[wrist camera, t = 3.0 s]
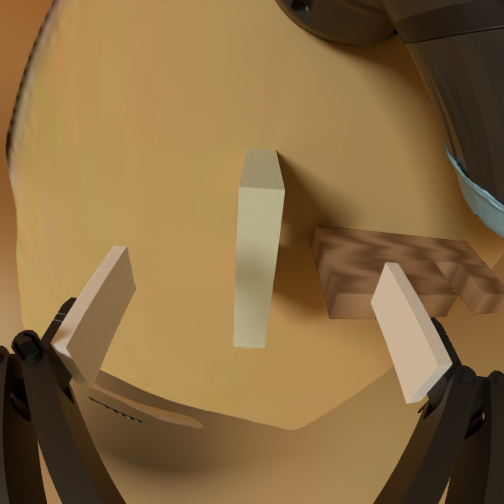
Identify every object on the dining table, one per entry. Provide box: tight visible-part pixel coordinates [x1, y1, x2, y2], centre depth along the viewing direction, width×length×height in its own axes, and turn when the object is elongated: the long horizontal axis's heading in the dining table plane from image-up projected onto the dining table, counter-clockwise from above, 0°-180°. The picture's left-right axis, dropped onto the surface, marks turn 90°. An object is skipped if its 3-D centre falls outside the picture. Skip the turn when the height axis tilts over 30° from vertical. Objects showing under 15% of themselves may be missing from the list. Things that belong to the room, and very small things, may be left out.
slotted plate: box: [233, 148, 285, 348], centre depth 28 cm, size 16×3×12 cm, turn 177°
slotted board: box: [312, 226, 504, 319], centre depth 29 cm, size 24×3×12 cm, turn 86°
